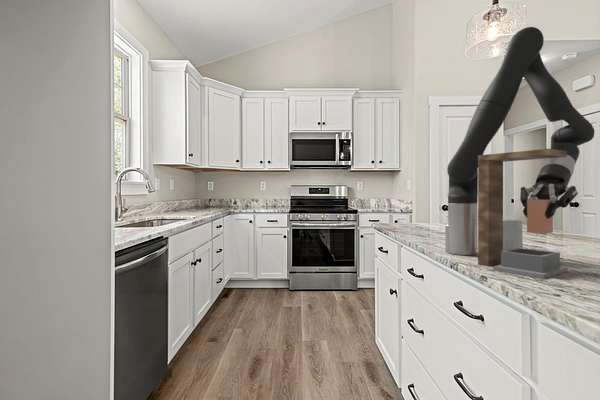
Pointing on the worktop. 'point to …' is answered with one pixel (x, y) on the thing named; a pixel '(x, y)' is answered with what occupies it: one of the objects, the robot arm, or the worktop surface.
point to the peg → (538, 217)
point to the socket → (530, 263)
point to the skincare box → (512, 234)
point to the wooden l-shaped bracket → (497, 199)
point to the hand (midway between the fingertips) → (536, 215)
